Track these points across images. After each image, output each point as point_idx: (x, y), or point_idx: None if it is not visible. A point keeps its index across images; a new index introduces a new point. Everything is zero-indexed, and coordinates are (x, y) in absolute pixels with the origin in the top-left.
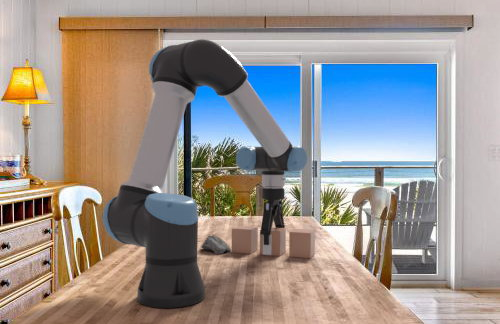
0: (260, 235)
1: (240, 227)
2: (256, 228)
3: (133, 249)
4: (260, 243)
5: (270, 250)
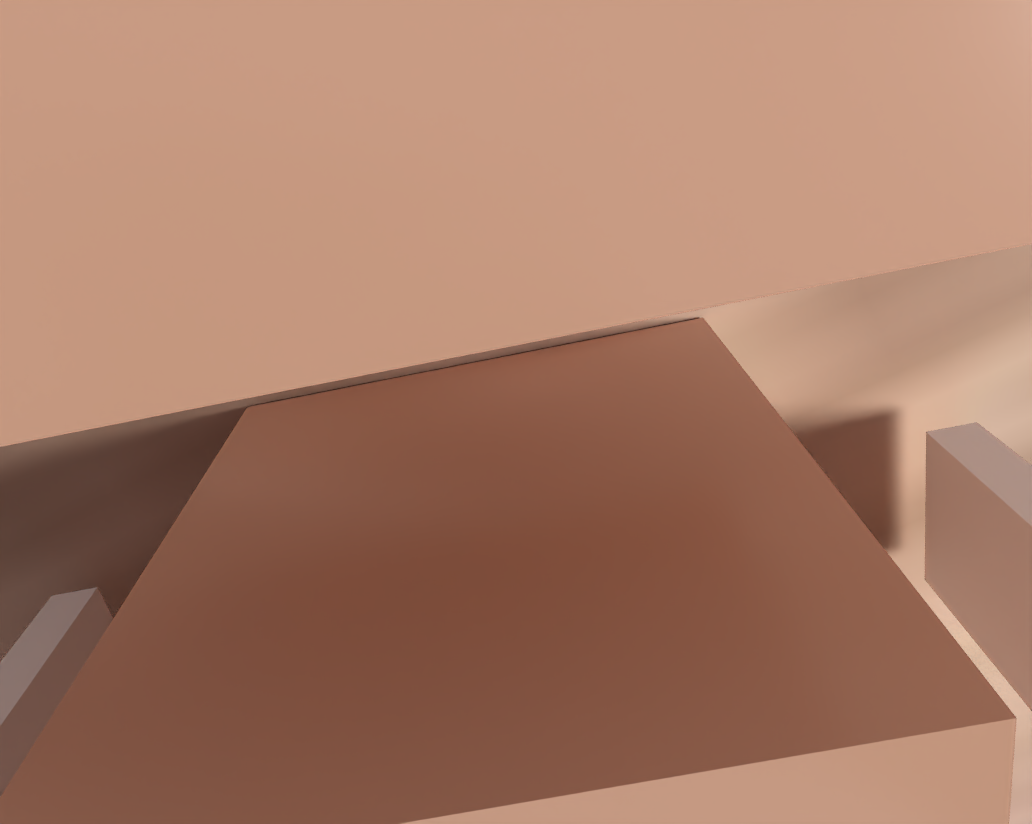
0: (70, 724)
1: None
2: (732, 274)
3: None
4: (173, 551)
5: None
